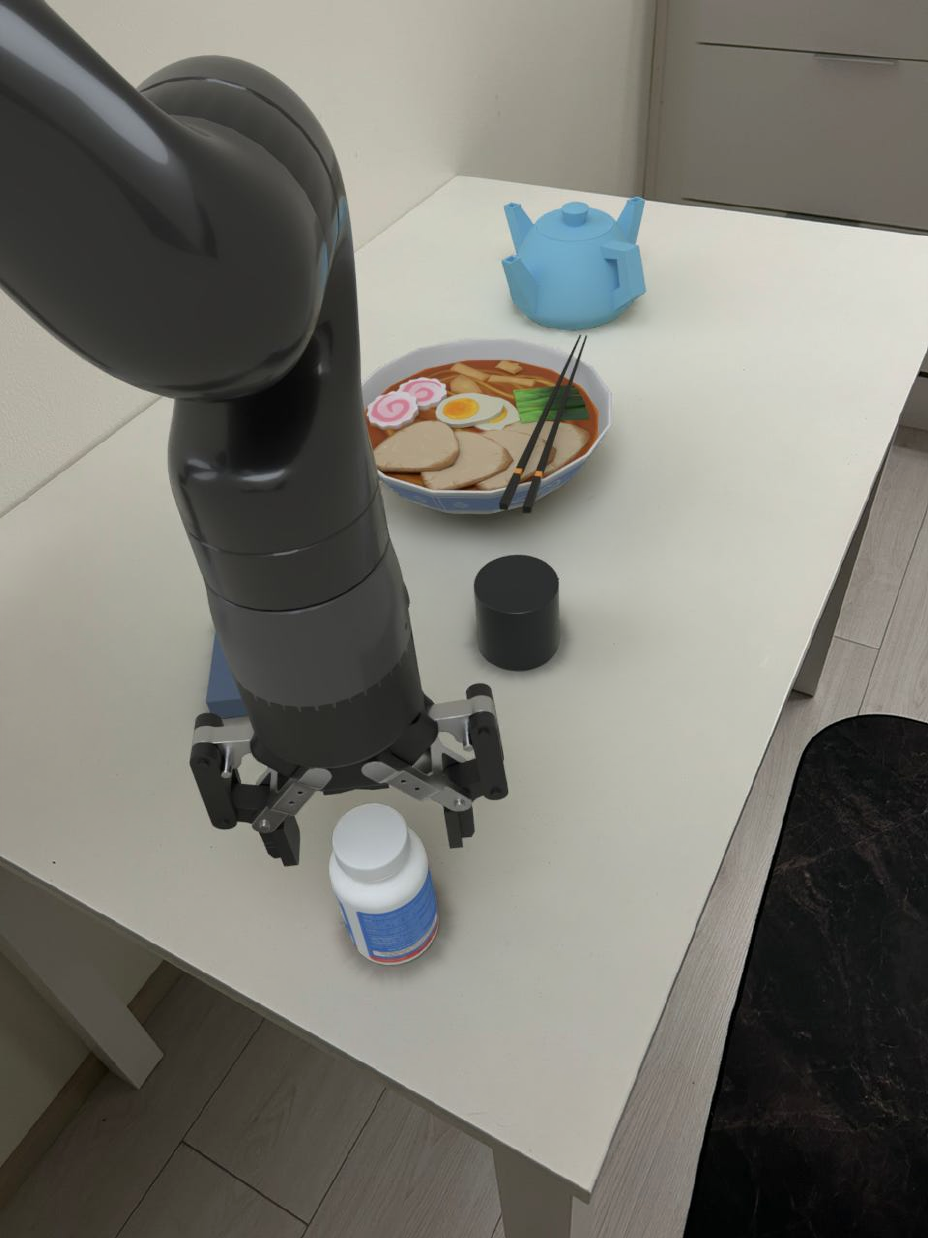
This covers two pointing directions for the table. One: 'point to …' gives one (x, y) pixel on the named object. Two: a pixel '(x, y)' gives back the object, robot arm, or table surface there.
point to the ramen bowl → (484, 422)
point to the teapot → (575, 264)
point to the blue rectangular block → (223, 687)
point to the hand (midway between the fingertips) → (374, 842)
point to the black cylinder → (517, 612)
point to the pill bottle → (383, 884)
